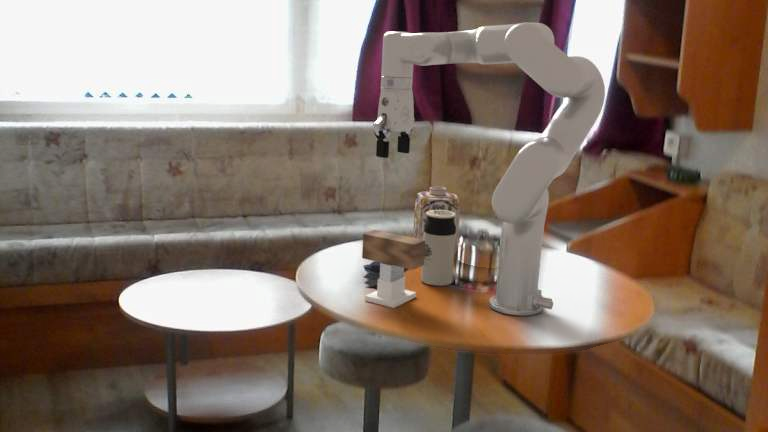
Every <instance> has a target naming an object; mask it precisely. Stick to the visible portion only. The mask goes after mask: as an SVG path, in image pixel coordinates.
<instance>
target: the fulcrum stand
mask: <svg viewBox="0 0 768 432" xmlns="http://www.w3.org/2000/svg"><path fill="white" fill-rule="evenodd" d="M416 297H417V292H416V291H412V290H408V289H406V276H405V269H404V268H402V267H398V266H394V265H389V264H385V263H380V278H379V279H378V283H377V288H376V290H374V291H372V292H370V293H368V294H366V295H364V302H369V303H372V302H373V303H372V304H378V305H382V306H384V307H388V308H393V309H395V308H397V307H400V306H401V305H403V304H405V303H406V302H409V301H411V300H412V299H414V298H416Z"/></svg>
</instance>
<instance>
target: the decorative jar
mask: <svg viewBox="0 0 768 432" xmlns="http://www.w3.org/2000/svg"><path fill="white" fill-rule="evenodd" d="M414 200H415V203H414V214H413V215H414V216H413V231H412V235H413V236H412V238H417V239H421V240H423V237H424V224H425V223H426V221H427V215H426V212H427V211H430V210H446V211H451V212H454V213H455V214H456V216H455V218H454V223H455V226H456V235H455V249H454V255H455V254H457V250H458V244H459V243H458V242H459V231H460V230H459V228H460V227H459V225H460V215H461V214H460V210H461V207H460V206H461V204H460V199H459V196H458V195H457V194H455V193H452V192H448V191H447V188H446V187H443V186H430V187H429V190H426V191H425V190H424V191H420V192H418V193H416V196H415V198H414Z"/></svg>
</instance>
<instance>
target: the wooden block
mask: <svg viewBox="0 0 768 432" xmlns="http://www.w3.org/2000/svg"><path fill="white" fill-rule="evenodd" d="M361 254H362V255H361V258H362V259H364V260H368V261H372V262H374V261H376V262H381V263H385V264H389V265H394V266H398V267H402V268H405V269H407V270H412V271H414V270H416V269H419V268H420V267H421V268H422V266H423V265H424V254H425V240H421V239H417V238H413V236H406V235H403V234H401V235H400V234H396V233H391V232H388V231H387V232H386V231H382V230H378V229H377V230H376V229H373V230H370V231H367V232H364V233H363V234H362V253H361Z"/></svg>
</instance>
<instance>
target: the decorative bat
mask: <svg viewBox="0 0 768 432" xmlns="http://www.w3.org/2000/svg"><path fill="white" fill-rule="evenodd" d="M380 263H381V262H376V261H372V262H371V263H369V264H364V265H362V267H363V268H364V271H365V272H366V273H367V274H366V275H364V276H363V278H364V279H367V280H366V281H365V282H364V284H365V285H367V286H371V287H373V288H376V289H377V283H378V279H379V278H380ZM404 270H406V268H404Z"/></svg>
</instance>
